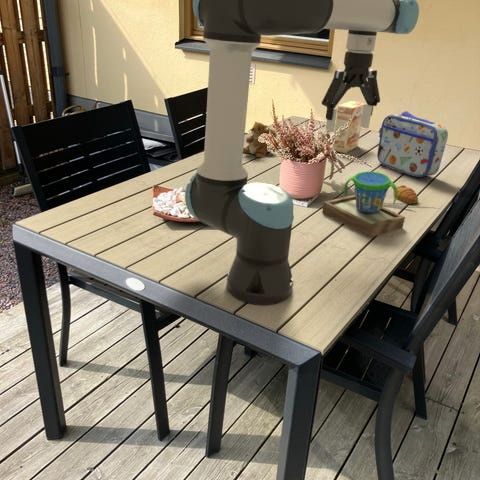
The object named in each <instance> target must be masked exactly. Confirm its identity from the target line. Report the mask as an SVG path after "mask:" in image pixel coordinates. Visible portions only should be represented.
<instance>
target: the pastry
mask: <svg viewBox="0 0 480 480" xmlns="http://www.w3.org/2000/svg"><path fill="white" fill-rule="evenodd" d="M396 187H397V191H398V195H397V199H396V200H399V201H401V202H403V203H406V204H417V202H418V201H419V197H418V195H417V193H416V191H415V190H414V189H412V188H411V187H408V186H406V185H403V184H402V185H399V186H396ZM392 193H393V196H394V197H395V192H394V190H393V192H392Z"/></svg>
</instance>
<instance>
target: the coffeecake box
mask: <svg viewBox="0 0 480 480" xmlns="http://www.w3.org/2000/svg"><path fill="white" fill-rule="evenodd" d="M364 104H366V102H365V103H364V102H361V101H354V100H349V101H348V102H344V103H342V104H339V105H338V104H337V114H336V121H335V127H334V132H333V135H334V134H335V133H336V131H337V130H338V129H339V128H340V127H341V126H343V125H344V124H346V123H347V122H348V121H349V120H350V118H351V117H352V118H351V120H350V122H349V124H348V128H347V129H345V130H344V131H342V132H341V133H340V135H339V136H338V138H337V139H336V140H335V142H334V144H333V143H332V144H333V146H332V145H331V148H332V147H333V148H334V150H335V152H339V153H343V154H347V153H349V152H350V151H352V150H353V149H355V148H357V147H358V145H359V141H360V133H361V129H362V127H361V126H360V125H361V119H362V113H363V107H364ZM334 150H333V151H334Z"/></svg>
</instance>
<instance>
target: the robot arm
mask: <svg viewBox="0 0 480 480" xmlns="http://www.w3.org/2000/svg"><path fill="white" fill-rule="evenodd" d="M192 10H193V14H194V15H193V16H194V17H196V18H197V19H196V21H197V22H198V24H199V25H200V26H202V27H203V35H202V38H203V39H202V40H203V41H204V42H205V44H206V45H207V46H208V48H209V59H208V60H209V61H208V62H209V65H208V79H207V96H206V99H207V101H206V118H205V120H206V121H205V135H204V152H203V153H204V154H203V162H202V163H201V164H200V165H199V166H198V167H197V168H196V173H195V174H193V175H192V176H191V177H190V179H189V181H190V182H189V183H187V184H186V188H185V192H184V201H185V206H186V209H187V211H188V213H189V214H190V215H191V216H192V217H193V218H195V219H196V220H198V221H199V222H201V223H202V224H204V225H206V226H209V227H212V228H214V229H216V230H219V231H220V232H222V233H225V234H227V235H229V236H231V237H233V238H235V239H236V249H235V250H236V251H235V257H234V260H233V261H232V265H231V266H230V268H229V271H228V272H227V275H226V288H227V291H228V292H229V293H230V294H231V296H232V297H234V298H236V299H238V300H240V301H242V302H245V303H248V304H253V305H259V306H260V305H263V306H264V305H274V304H279V303H281V302H284V301H285V300H287V299H288V298H290V296H291V295H292V293H293V287H294V279H293V276H292V270H291V266H290V261H289V255H290V252H289V251H290V246H291V236H292V229H293V223H294V199H293V197H292V196H291V194H290V193H289V192H287V191H286V190H285V189H283V188H282V187H280V186H277V185H275V184H272V183H265V182H258V181H257V182H256V181H255V182H249V183H248V177H249V172H248V171H247V169H246V168H245V167H244V166H243V158H244V157H243V156H244V153H243V148H245V146H244V145H245V135H246V126H247V125H246V124H247V123H246V121H247V112H248V111H247V110H248V99H249V89H250V88H249V87H250V79H251V67H252V57H253V56H252V54H253V52H254V51H255V50H256V49H257V48H258V47H259V46H260V45H261V39H262V36H265V37H271V36H272V37H273V36H276V37H277V36H288V35H299V34H301V35H302V34H316V33H319V32H321V31H322V30H324V29H325V30H326V29H327V30H340V31H341V30H342V31H343V30H345V31H347V32H348V34H347V40H346V45H345V48H346V51H345V53H344V59H343V65H344V70H339V69H336V70H334V75H333V78H332V80H331V81H330V82H331V83H330V85H329V87H328V89H327V91H326V92H325V95H324V97H323V99H322V101H321V105H322V106H324V107H326V115H325V119H326V124H325V131H327V132H330V133H334V130H335V124H336V117H337V110H338V108H336V107H337V106H338V104H339V103H340V102H341V100H342V98H343V97H344V95H345V94H346V93H347V92H348V91H349V90H351V88H352V89H353V88H359V89H360V93H361V94H362V96H363V98H364V100H365V101H364V102H365V104H364V107H363V113H362V119H361V125H360V126H361V128H364V129H369V128H370V123H371V117H372V116H373V111H374V107H377V105H378V104H379V103H380V102H381V97H380V91H379V85H378V79H377V76H378V70H376V69H374V68H373V69H372V68H371V67H372V66H373V65H372V64H373V59H374V53H372V52H374V51H375V46H376V39H377V34H378V33H387V34H394V35H407V34H410V33H412V31H414V29H415V28H416V25H417V23H418V19H419V17H420V7H419V3H418V1H417V0H192Z"/></svg>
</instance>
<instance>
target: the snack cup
mask: <svg viewBox="0 0 480 480" xmlns="http://www.w3.org/2000/svg"><path fill="white" fill-rule="evenodd" d="M350 181H352V182H353V184H354V195H355V199H356V207H357V209H358V210H359V211H360V212H364V213H372V214H374V213H376V212H379V211H380V210H381V208H382V207H383V205H384V201H385V198H386V194H387V192H388V189H389V187H391V188H392V190H393V191H394V192H395V196H394V200H393V202H392V203H393V205H394V204H395V203H396V200H398V199H397V195H398V191H397V187H398V186H396V184H395V183H394V182H393V181H391V179H390V177H389V176H388V175H386V174H384V173H381V172H377V171H376V172H375V171H363V172H358V173H356V174H355V175H353V176H351V177H349V178H348V179H347V181H346V182H345V184H344V188H343V194H344V197H347V196H348V192H349V191H348V184H349V182H350Z"/></svg>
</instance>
